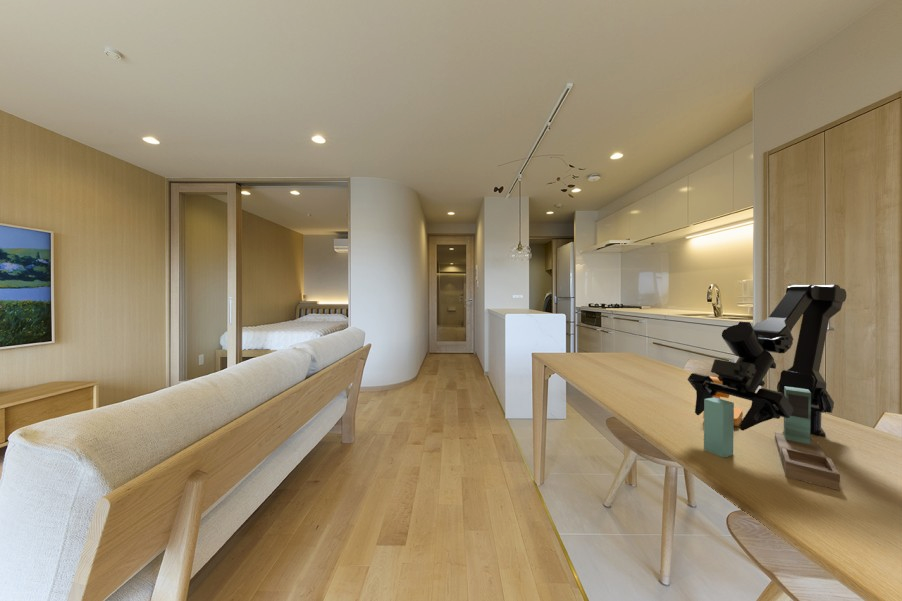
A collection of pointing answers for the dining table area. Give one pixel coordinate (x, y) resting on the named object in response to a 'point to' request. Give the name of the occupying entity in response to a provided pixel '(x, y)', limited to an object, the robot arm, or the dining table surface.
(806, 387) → the robot arm
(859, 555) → the dining table surface
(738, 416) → the bracket
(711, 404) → the finger block
